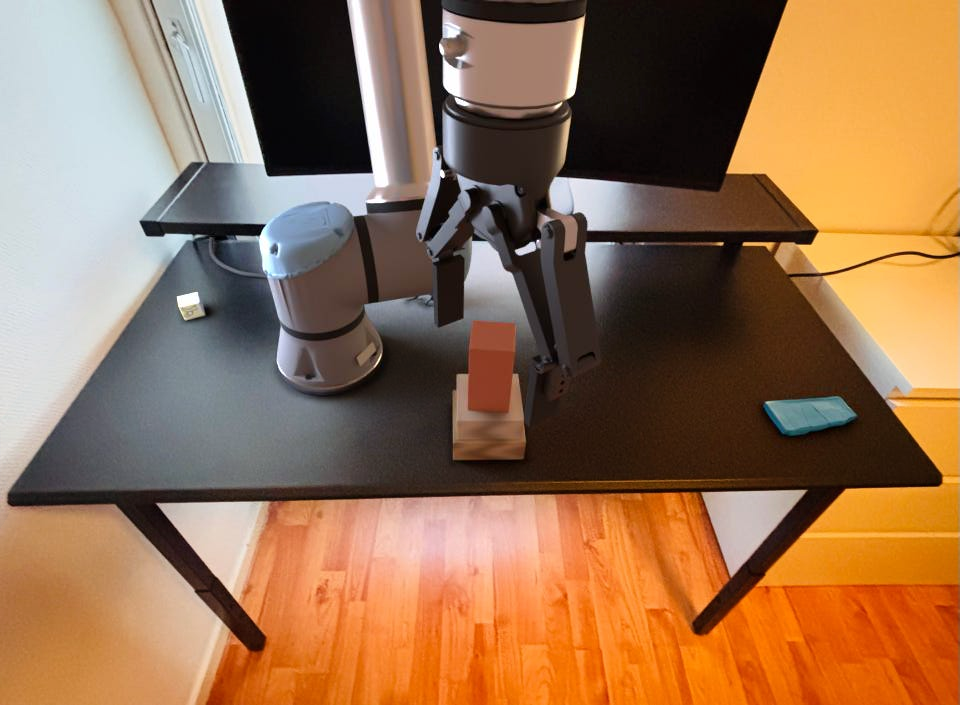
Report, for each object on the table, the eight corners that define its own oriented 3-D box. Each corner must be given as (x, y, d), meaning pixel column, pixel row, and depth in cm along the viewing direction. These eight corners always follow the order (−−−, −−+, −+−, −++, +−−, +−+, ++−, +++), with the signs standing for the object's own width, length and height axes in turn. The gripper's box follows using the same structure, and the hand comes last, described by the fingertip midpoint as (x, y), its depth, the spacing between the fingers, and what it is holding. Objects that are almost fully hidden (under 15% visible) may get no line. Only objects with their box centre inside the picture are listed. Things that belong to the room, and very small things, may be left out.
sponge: (867, 428, 73) (843, 393, 76) (784, 433, 71) (765, 398, 75) (860, 434, 74) (837, 399, 78) (779, 439, 73) (760, 404, 76)
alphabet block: (205, 316, 87) (199, 301, 85) (184, 321, 86) (178, 306, 84) (203, 306, 89) (197, 291, 87) (183, 310, 88) (176, 295, 86)
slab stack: (453, 460, 68) (453, 424, 63) (452, 407, 74) (452, 371, 69) (523, 459, 68) (528, 423, 63) (517, 406, 75) (521, 371, 70)
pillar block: (467, 410, 65) (469, 348, 58) (470, 381, 68) (472, 320, 62) (508, 413, 64) (515, 351, 58) (509, 383, 68) (515, 322, 61)
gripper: (357, 52, 37) (384, 301, 51) (612, 197, 21) (548, 494, 36) (451, 41, 40) (452, 278, 54) (730, 161, 25) (629, 446, 39)
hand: (490, 364), depth 45 cm, fingers open, 13 cm apart
